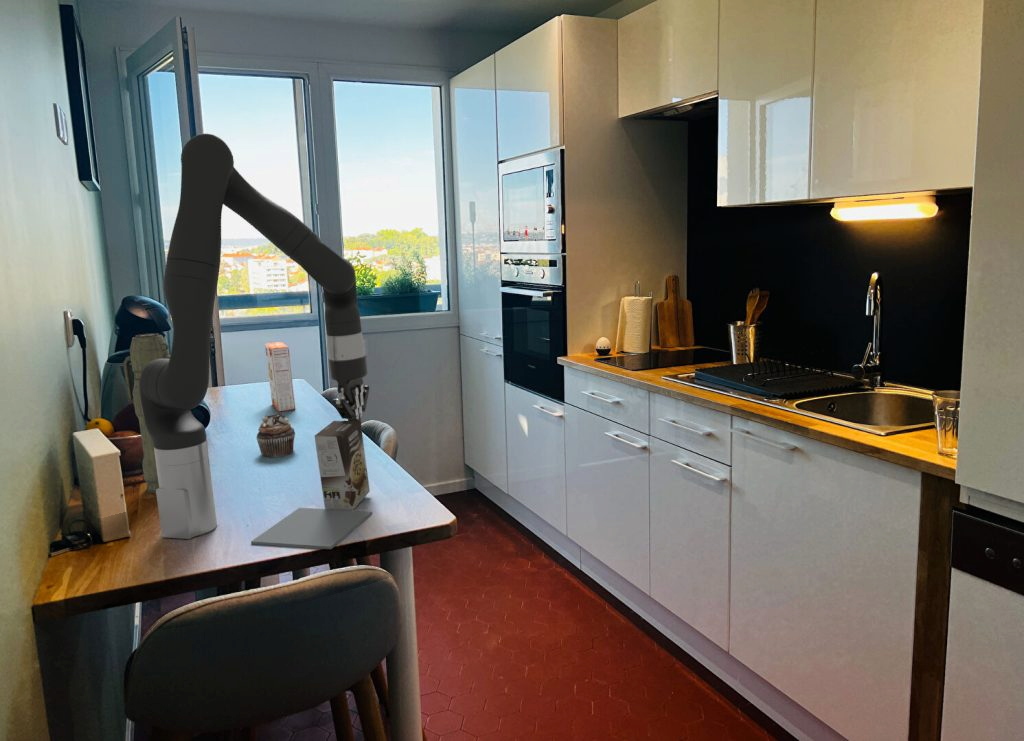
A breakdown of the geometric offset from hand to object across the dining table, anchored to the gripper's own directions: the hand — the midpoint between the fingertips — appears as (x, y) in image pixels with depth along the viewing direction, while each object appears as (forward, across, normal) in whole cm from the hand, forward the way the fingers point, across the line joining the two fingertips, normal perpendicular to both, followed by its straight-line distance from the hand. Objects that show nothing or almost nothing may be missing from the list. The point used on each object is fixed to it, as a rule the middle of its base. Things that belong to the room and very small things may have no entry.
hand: (356, 435), depth 160 cm
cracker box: (+15, +75, +64) cm, 100 cm away
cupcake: (+14, +26, +36) cm, 47 cm away
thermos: (+12, -2, +47) cm, 49 cm away
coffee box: (+12, -6, 0) cm, 14 cm away
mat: (+12, -20, 0) cm, 24 cm away
